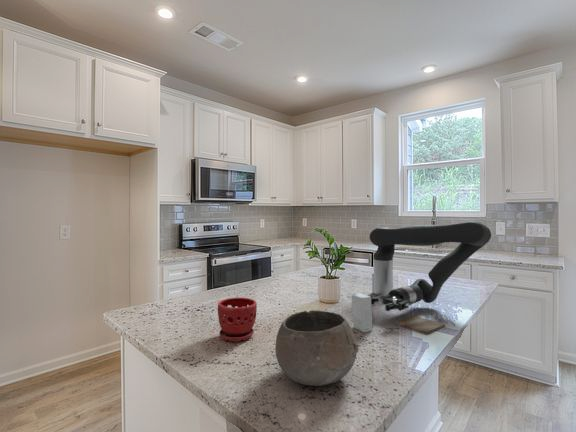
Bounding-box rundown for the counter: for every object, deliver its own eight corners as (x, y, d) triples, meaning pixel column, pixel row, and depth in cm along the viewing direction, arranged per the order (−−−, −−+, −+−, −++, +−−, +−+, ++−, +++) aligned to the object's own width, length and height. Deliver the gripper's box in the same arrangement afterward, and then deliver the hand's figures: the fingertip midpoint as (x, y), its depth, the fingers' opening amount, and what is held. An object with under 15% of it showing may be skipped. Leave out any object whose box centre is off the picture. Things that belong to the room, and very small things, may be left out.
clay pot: (296, 410, 68) (295, 341, 68) (264, 367, 87) (263, 312, 87) (375, 387, 77) (374, 325, 76) (330, 351, 96) (329, 302, 95)
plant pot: (240, 347, 100) (239, 310, 99) (210, 339, 107) (209, 304, 106) (264, 333, 111) (264, 299, 110) (236, 326, 118) (235, 294, 117)
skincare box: (372, 330, 112) (372, 296, 111) (362, 333, 110) (362, 298, 109) (361, 325, 117) (361, 292, 117) (351, 327, 115) (351, 294, 115)
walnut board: (396, 324, 117) (396, 322, 117) (414, 317, 124) (414, 315, 124) (426, 334, 107) (426, 332, 107) (445, 326, 114) (445, 324, 114)
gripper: (387, 284, 133) (361, 291, 123) (418, 291, 121) (392, 299, 112) (387, 302, 133) (361, 310, 123) (418, 311, 122) (393, 320, 112)
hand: (376, 305), depth 118 cm, fingers open, 8 cm apart
